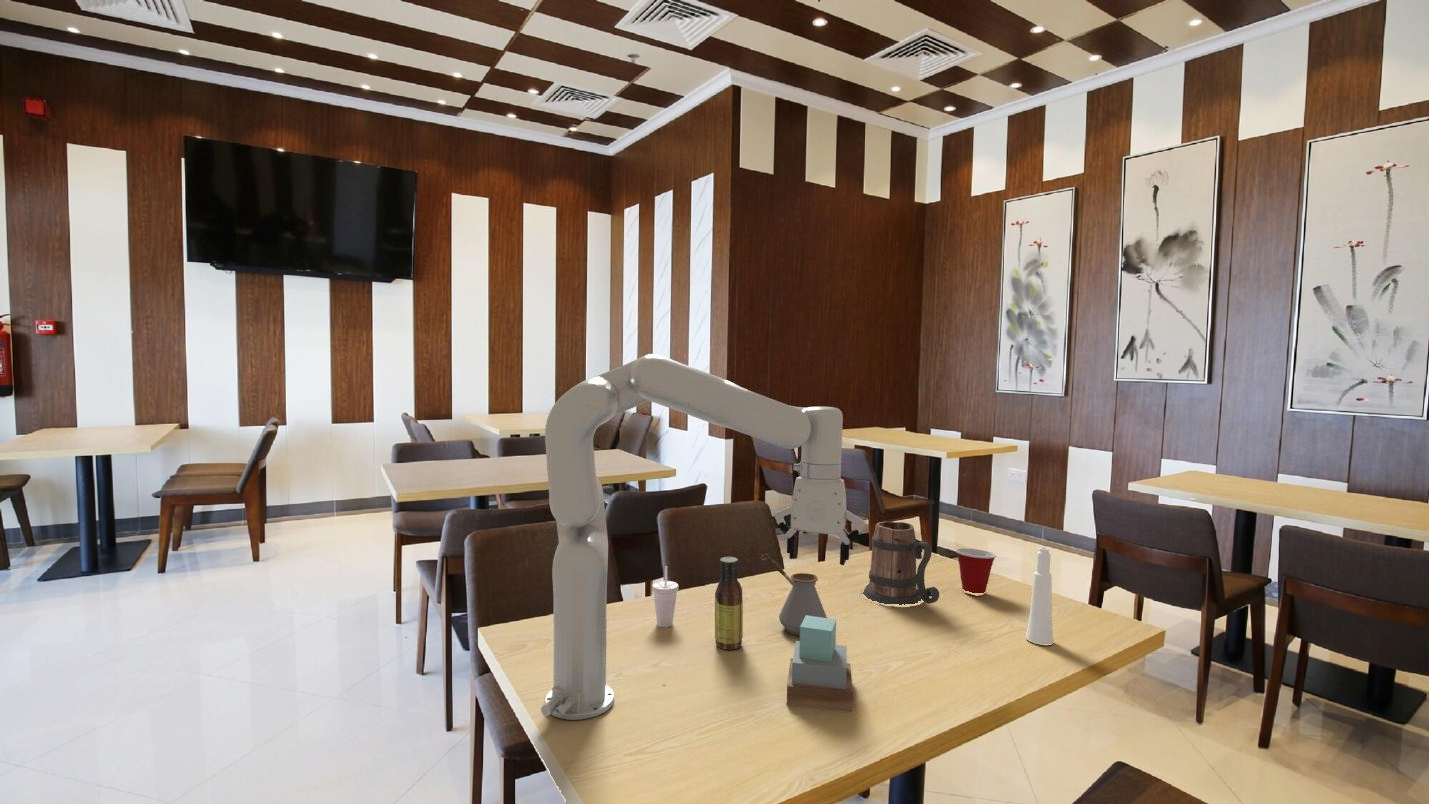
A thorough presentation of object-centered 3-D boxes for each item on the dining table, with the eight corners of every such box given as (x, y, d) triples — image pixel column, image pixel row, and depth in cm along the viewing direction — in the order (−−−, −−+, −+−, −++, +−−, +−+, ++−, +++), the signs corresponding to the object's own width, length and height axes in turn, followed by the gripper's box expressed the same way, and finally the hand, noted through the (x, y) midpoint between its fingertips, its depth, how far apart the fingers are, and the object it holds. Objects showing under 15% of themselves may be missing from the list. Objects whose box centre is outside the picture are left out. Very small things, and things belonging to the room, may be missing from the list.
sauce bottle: (726, 637, 154) (728, 552, 153) (748, 645, 150) (750, 558, 149) (708, 646, 149) (710, 558, 148) (730, 654, 145) (732, 564, 144)
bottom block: (852, 713, 122) (852, 692, 122) (786, 707, 124) (787, 686, 124) (849, 683, 134) (850, 663, 134) (789, 677, 136) (790, 658, 136)
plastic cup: (997, 591, 190) (999, 549, 189) (991, 602, 180) (993, 558, 180) (958, 583, 195) (959, 543, 195) (949, 594, 186) (951, 552, 185)
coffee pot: (837, 633, 158) (839, 570, 157) (800, 643, 151) (802, 579, 150) (779, 605, 175) (780, 549, 174) (744, 613, 169) (745, 555, 168)
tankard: (848, 592, 186) (850, 521, 185) (891, 583, 195) (893, 515, 194) (912, 620, 166) (915, 541, 165) (957, 609, 175) (961, 534, 174)
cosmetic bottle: (1024, 643, 154) (1029, 549, 153) (1025, 633, 159) (1030, 543, 158) (1053, 648, 151) (1058, 553, 150) (1054, 639, 157) (1058, 547, 155)
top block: (846, 689, 123) (846, 668, 123) (791, 683, 125) (792, 662, 125) (845, 665, 133) (846, 645, 133) (795, 660, 135) (796, 640, 134)
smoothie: (679, 619, 164) (680, 563, 163) (675, 630, 157) (676, 572, 157) (654, 618, 164) (655, 562, 164) (649, 628, 158) (649, 570, 157)
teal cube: (830, 662, 125) (831, 631, 125) (799, 657, 127) (800, 626, 127) (835, 649, 131) (836, 619, 130) (804, 644, 133) (805, 615, 132)
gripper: (771, 471, 126) (768, 560, 127) (864, 478, 120) (861, 571, 121) (780, 465, 133) (778, 550, 134) (869, 472, 127) (865, 560, 128)
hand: (817, 560), depth 128 cm, fingers open, 9 cm apart
